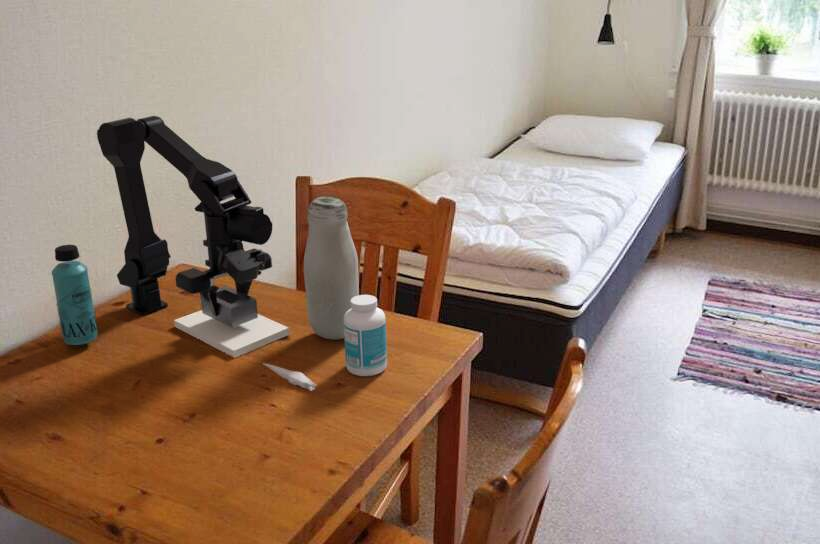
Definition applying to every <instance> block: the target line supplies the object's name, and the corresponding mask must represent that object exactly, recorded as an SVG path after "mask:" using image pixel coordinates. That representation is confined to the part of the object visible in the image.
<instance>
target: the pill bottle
mask: <svg viewBox="0 0 820 544" xmlns="http://www.w3.org/2000/svg"><path fill="white" fill-rule="evenodd" d="M350 303H351V309H349V310H348V311H347V312H346V313H345V315H344V338H343V339H344V353H345V366H346V369H347V371H348V372H349V373H350V374H352V375H355V376H357V377H372V376H373V377H374V376H376V375H379V374H381V373H382V372H384V371H385V370H386V369H387V365H388V358H387V357H388V351H387V350H388V347H387V321H386V320H387V319H386V314H385V312H384V311H383V309H381V308H379V307H378V298H377V296H374V295H372V294H371V295H370V294H359V295H358V296H355V297H353V298H352V299H351V301H350Z"/></svg>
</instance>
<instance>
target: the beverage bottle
mask: <svg viewBox="0 0 820 544" xmlns="http://www.w3.org/2000/svg"><path fill="white" fill-rule="evenodd" d="M54 254H55V255H54V258H55V261H57V262H60V263H57V265H55V267H54V268H53V269H52V270H51V276H52V281H53V288H54V293H55V298H56V299H55V300H56V304H55V305H56V307H57V308H56V310H57V314H58V315H57V317H58V319H59V322H58V323H59V328H60V331H61V337H62V340H63V342H64V343H65V344H66V345H70V346H71V345H72V346H79V345H85V344H88V343H90V342H92V341H94V340H96V339H97V338H98V333H99V332H98V322H97V316H96V312H95V306H94V301H93V295H92V288H91V285H90V277H89V272H88V266H87V265H86V264H85V263H83V262H81V261H78V260H77V259H79V258H80V252H79V249H78V247H77V245H75V244H63V245H60V246H59V245H58V246H57V247H55V249H54Z"/></svg>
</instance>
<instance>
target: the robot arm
mask: <svg viewBox="0 0 820 544" xmlns="http://www.w3.org/2000/svg"><path fill="white" fill-rule="evenodd" d="M96 138H97V142H98V144H99V147H100V150H101V153H102V155H103V157H104V158H105V159H106V160H107V161H108V162H109V164H111V165H112V167H113V169H114V173H115V179H116V183H117V186H118V192H119V196H120V201H121V205H122V206H121V207H122V210H123V215H124V220H125V224H126V228H127V235H128V238H127V242H126V244H125V248H124V265H123V266H122V267H121V269H120V270H119V271H118V273H117V275H116V277H117V280H118V283H119V284H120V285H121V286H125V287H128V288H129V289H130V295H131V302H130V303H126V304H125V307H126V308H127V309H129V310H131V311H133V312H134V313H136V314H139V315H141V316H142V315H146V314H149V313H153V312H155V311H158V310H160V309H161V310H162V309H163V308H166V307H168V306H169V304H168V302H166V301H164V300H162V299H161V291H160V286H159V280H158V279H159V278H162V277H165V276H166V275H167V271H168V266H169V265H170V258H171V254H170V252H169V246H168V245H169V244H168V241H167V240H166V239H161V237H159V235H158V234H157V233H155V230H154V224H153V220H152V215H151V211H150V206H149V200H148V196H147V190H146V185H145V181H144V177H143V175H144V174H143V171H142V166H141V161H142V158H143V156H144V155H143V154H144V152H145V150H146V145H145V143H146V144H147V145H149V147H151V148H152V149H153V150H154V151H156V153H158V154H159V155H160V156H161V157H162V158H163V159H164V160H165V161H166V162H168V163H169V164H170V165H171V166H173V167H174V168H175V169H176V170H177V171H178V172H180V173H181V174H182V175H183V176H184V177H185V178H186V180H187V184H188V188H189V189H190V191H192V193H193V194H194V195H195V196H196V197H197V199H198V200H199V201H200V202H199V204H197V205H196V206H195V207H194V210H195V212H199V213H203V217H204V226H205V227H204V228H205V236H206V237H205V238H206V239H203V240H202V245H203V247H207V254H208V255H207V256H208V259H205V260H204V262H205V266H206V267H209V269H206V270H203V271H202V270H200V269H197V268H196V267H192V268H189V269H185V270H183V271H179V272H178V273H177V274H176V276H175V284H176V287H177V288H179V289H181V290H183V291H185V292H188V294H189V293H190V294H192V295H193V294H199V295H201V296H202V297H203V299H204V300H205V302H206V304H207V305H208V307H209V309H210V310H211V312H212V314H213V315H214V316H218V305H217V297H216V292H217V290H218V289H219V288H220V287H218V286H217V285H215V281H214V279H217V278H221V277H223V276H226V275H228V276H230V278H232V279H233V281H234V283H235V284H234V285H235V290H237V291H239V292H241V293H244V294H246V295H248V296H249V292H250V288H251V285H252V283H253V281H254V280H256V279H258V276H260V275H261V274H262V271H265V270H268V269H270V268H272V267H273V260H272V259H273V258H272V257H271V254H269V253H267V252H265V251H263V250H262V249H257V248H255V247H253V248H251V249H248V250H245V249H244V243H243V242H245V243H248V244H254V245H261V246H262V245H265V244H266V243H267V242H268V241H269V240H270V238H271V236H272V234H273V222H272V221H271V218H270V217H269V215H268V214H266V213H264V208H263V207H261V206H252V205H251V204H252V200H251V199H250V197H249V196H248V193H247V192H246V190H245V189H244V187H243V186H242V184H241V183H240V181H239V179H238V176H237V174H236V173H235V171H233V170H232V169H231V168H229V167H227V166H226V165H224V164H222V163H221V162H219V161H215V160H211V159H209V158H206V157H204V156H203V155H202V154H201V153H199V152H198V151H197V150H196V149H194V147H193V146H191V145H190V144H189V143H188V142H186V141H185V140H184V139H183V138H181V137H180V136H179V135H178V134H177V133H176V132H174V130H172V129H171V128H170V127H169V126H167V124H165V121H164V120H163V119H162V117H160V116H158V115H151V116H146V117H142V118H138V119H134V118H132V117H125V118H121V119H116V120H112V121H109V122H103V123H101V124H100V126H99V128H98V129H97V131H96ZM233 197H234V198H233ZM232 198H233V199H232ZM228 199H230V200H228ZM225 200H228V201H225ZM224 201H225V202H224ZM221 202H222V203H221Z"/></svg>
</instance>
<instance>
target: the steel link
mask: <svg viewBox="0 0 820 544" xmlns="http://www.w3.org/2000/svg"><path fill="white" fill-rule="evenodd" d="M199 295H200V294H199ZM199 297H200V306H201V310H202V313H203V314H205V315H207V316H209V317H212V318H214V319H216V320H218V321H220V322H222V323H224V324H226V325H228V326H230V327H232V328H233V327H235V326H238V325H241V324H243V323H246V322H248V321H251V320H253V319H256V318H258V314H259V312H258V304H257V303H258V301H257V298H255V297H253V296H251V295H249V294H248V295H246V294H244V293H241V292H239V291H237V290H236V289H234V288H232V287H229V286H227V285H223V286H221V287H219V289H218V290H217V292H216V297H217V305H218V316H214V315H213V314H212V312H211V310H210V309H209V307H208V305H207V304H206V302H205V300H204V299H203V297H202V296H201V295H200V296H199Z"/></svg>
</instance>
